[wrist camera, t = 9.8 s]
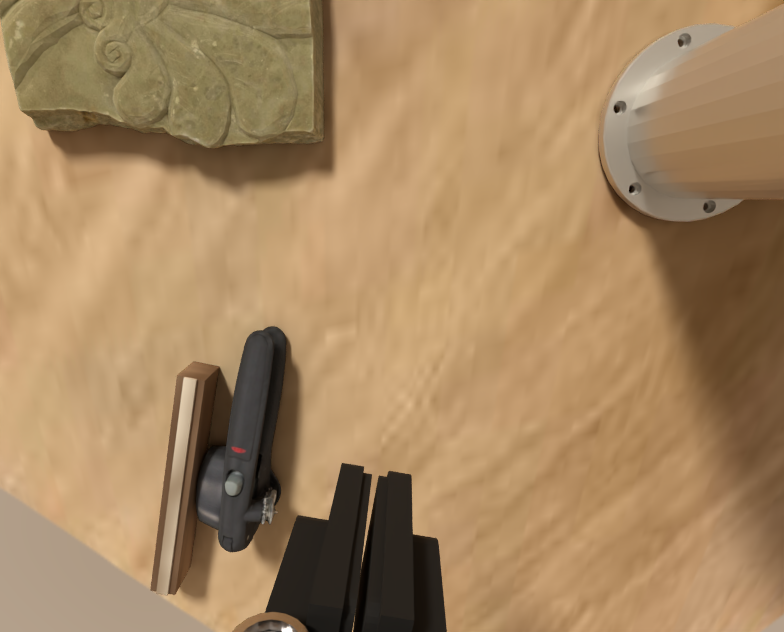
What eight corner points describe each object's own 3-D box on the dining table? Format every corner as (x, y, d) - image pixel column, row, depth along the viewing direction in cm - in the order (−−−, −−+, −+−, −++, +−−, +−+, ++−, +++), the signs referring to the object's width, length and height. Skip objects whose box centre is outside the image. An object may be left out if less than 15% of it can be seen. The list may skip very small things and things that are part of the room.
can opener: (278, 524, 41) (261, 574, 36) (198, 507, 41) (168, 555, 35) (322, 332, 37) (310, 355, 32) (233, 311, 37) (205, 330, 31)
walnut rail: (219, 366, 37) (203, 381, 34) (190, 567, 42) (173, 596, 39) (193, 361, 37) (175, 376, 34) (167, 563, 42) (149, 592, 39)
